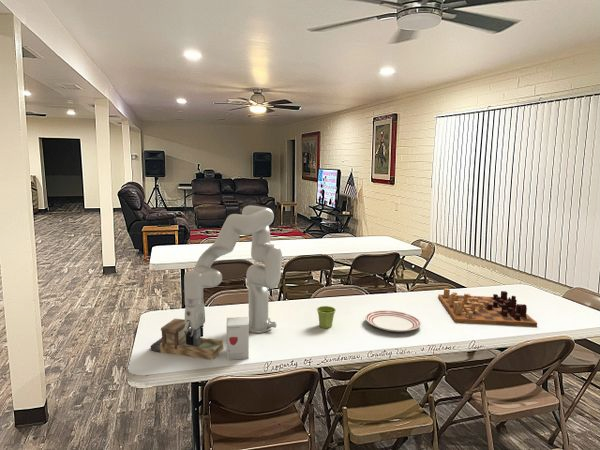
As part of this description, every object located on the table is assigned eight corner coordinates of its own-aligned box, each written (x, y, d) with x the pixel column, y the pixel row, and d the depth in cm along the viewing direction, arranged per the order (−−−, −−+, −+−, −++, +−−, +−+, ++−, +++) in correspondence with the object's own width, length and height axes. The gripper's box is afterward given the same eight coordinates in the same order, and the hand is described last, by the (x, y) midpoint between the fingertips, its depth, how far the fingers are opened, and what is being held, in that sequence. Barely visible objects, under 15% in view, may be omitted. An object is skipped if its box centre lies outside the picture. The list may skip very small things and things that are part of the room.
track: (223, 348, 184) (223, 324, 183) (212, 360, 174) (211, 334, 172) (164, 341, 191) (163, 317, 189) (150, 351, 180) (149, 326, 179)
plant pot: (337, 324, 214) (338, 307, 212) (331, 331, 205) (331, 313, 204) (320, 321, 218) (321, 304, 216) (313, 327, 209) (313, 310, 208)
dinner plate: (397, 312, 233) (397, 306, 232) (432, 330, 208) (433, 324, 208) (354, 319, 221) (354, 313, 220) (386, 340, 196) (387, 333, 196)
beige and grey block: (202, 342, 184) (201, 326, 182) (195, 348, 178) (195, 331, 177) (173, 339, 187) (172, 322, 186) (165, 344, 181) (165, 327, 180)
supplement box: (226, 360, 174) (226, 325, 172) (226, 350, 183) (226, 317, 180) (249, 359, 176) (249, 324, 173) (248, 349, 184) (247, 316, 182)
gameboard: (438, 298, 258) (439, 283, 257) (506, 301, 255) (508, 286, 253) (455, 323, 219) (456, 306, 218) (536, 327, 215) (538, 310, 214)
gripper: (192, 308, 169) (193, 350, 172) (211, 295, 186) (212, 333, 188) (175, 306, 171) (176, 348, 173) (195, 293, 187) (196, 331, 190)
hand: (194, 340), depth 181 cm, fingers open, 7 cm apart
